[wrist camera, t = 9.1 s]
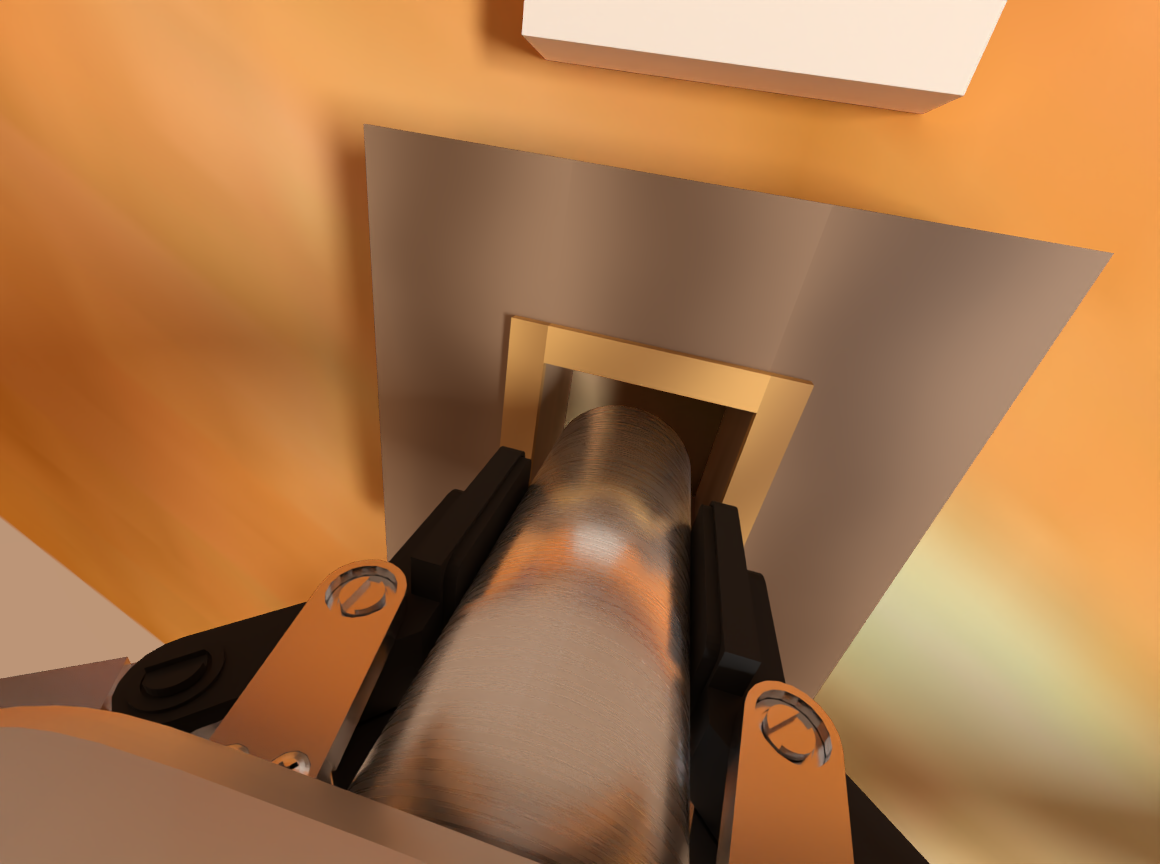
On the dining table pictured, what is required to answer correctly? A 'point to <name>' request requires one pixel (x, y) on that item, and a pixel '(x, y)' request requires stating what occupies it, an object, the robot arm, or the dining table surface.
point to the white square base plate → (779, 44)
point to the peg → (564, 666)
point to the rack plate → (705, 350)
